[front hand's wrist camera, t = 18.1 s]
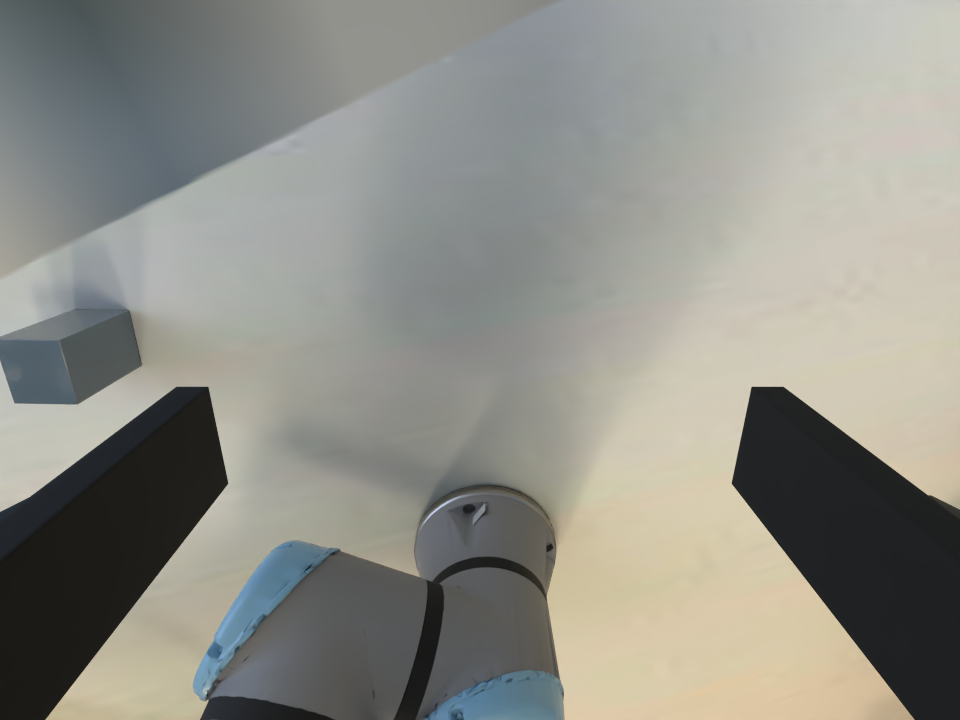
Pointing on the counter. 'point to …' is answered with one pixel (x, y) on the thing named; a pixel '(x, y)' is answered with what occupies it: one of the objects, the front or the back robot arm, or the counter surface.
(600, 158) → the counter surface
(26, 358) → the brick
